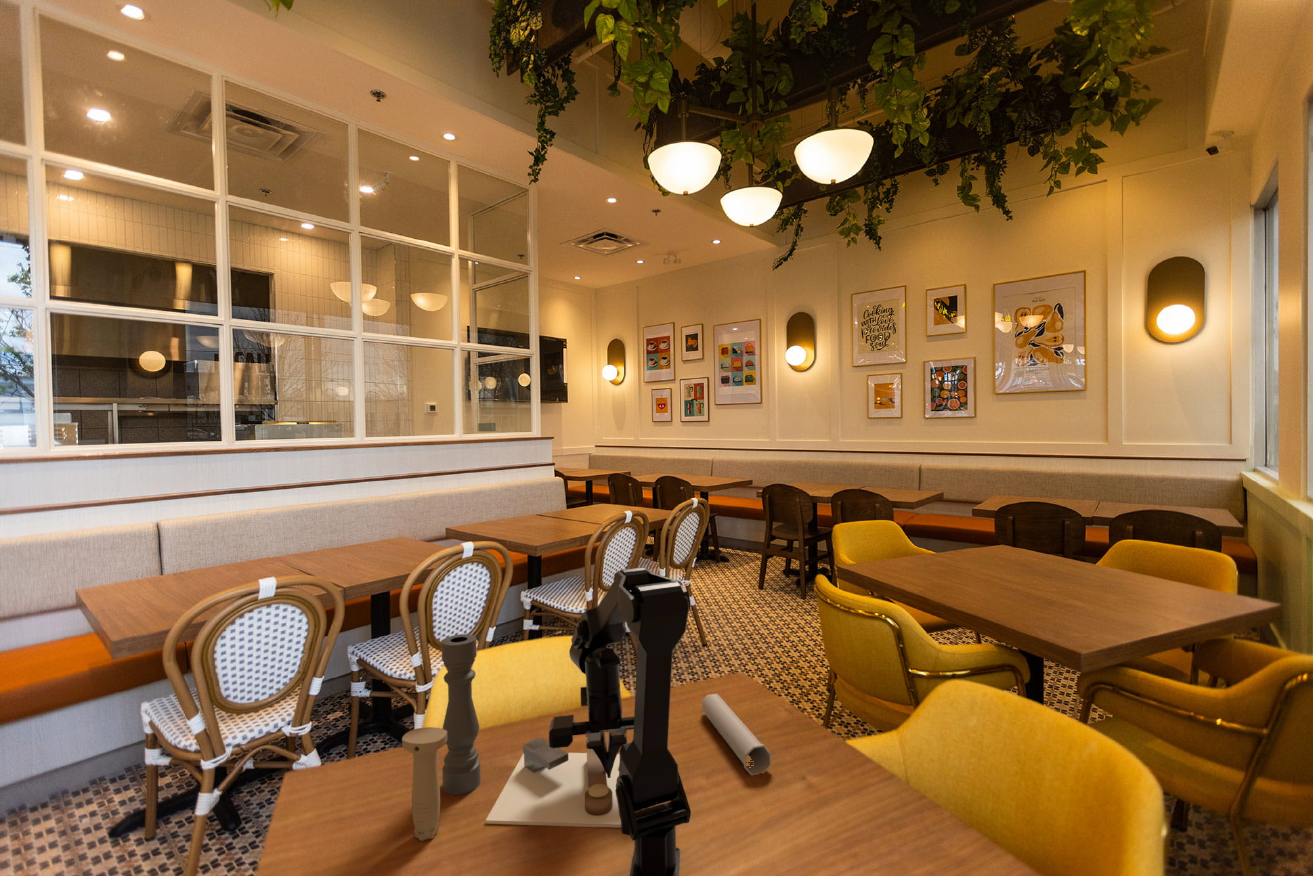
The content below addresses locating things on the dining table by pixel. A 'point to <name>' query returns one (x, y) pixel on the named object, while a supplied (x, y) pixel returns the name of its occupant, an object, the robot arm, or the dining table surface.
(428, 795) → the handle
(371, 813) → the dining table surface
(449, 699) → the candle holder
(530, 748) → the block
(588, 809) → the link
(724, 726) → the tube
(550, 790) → the pivot plate
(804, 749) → the dining table surface
